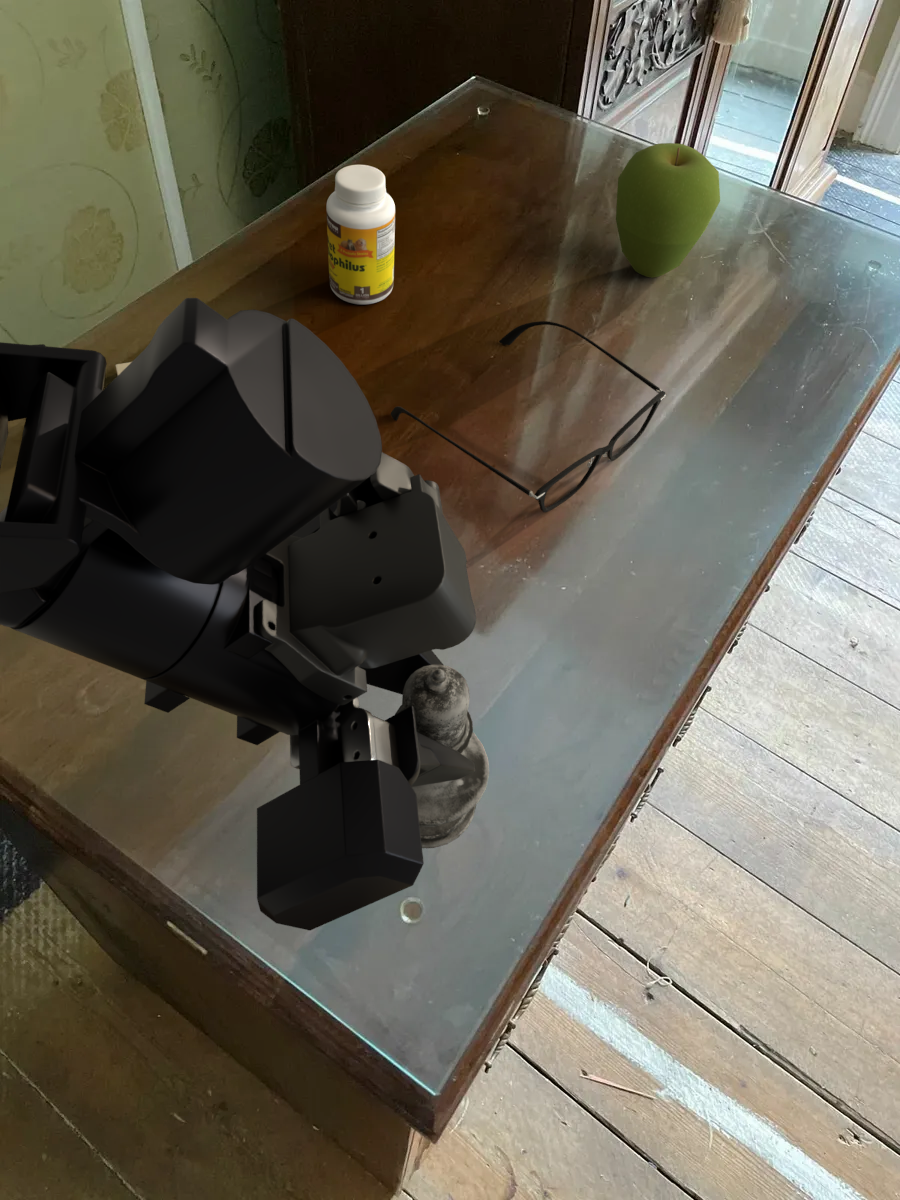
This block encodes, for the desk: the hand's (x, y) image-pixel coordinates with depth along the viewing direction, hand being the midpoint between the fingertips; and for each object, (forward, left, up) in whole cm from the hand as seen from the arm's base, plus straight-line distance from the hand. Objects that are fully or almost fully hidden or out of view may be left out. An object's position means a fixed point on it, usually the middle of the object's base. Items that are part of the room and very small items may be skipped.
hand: (461, 734), depth 43 cm
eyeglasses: (+17, +30, -12) cm, 37 cm away
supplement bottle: (+10, +50, -12) cm, 53 cm away
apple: (+36, +46, -12) cm, 60 cm away
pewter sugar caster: (-1, 0, -7) cm, 7 cm away
